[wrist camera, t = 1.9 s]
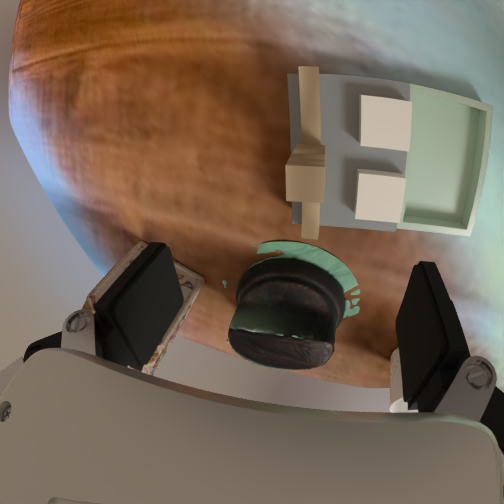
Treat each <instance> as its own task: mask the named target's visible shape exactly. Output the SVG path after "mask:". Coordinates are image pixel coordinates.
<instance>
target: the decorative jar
mask: <svg viewBox="0 0 504 504" xmlns="http://www.w3.org/2000/svg"><path fill="white" fill-rule="evenodd" d="M147 246H148V244H147V243H145V242H144V241H139V242H138V243H137V244H136V245H135V246H134V247H133V248H132V249H130V250H129V252H127V253H126V254H125V255H124V256H123V257H122V258H121V259H120V260H119V261H118V263H116V265H115V266H114V267H113V268H112V269H111V270H110V271H109V272H108V273H107V274H106V275H105V277H104V278H103V279H102V280H101V281H100V282H99V283H98V284H97V285H96V287H95V288H94V289H93V290H92V291H91V292H90V293H89V294H88V296H87V298H86V301H85V304H84V306H83V308H82V309H88V310H90V311H92V313H93V314H94V313H95V312H96V310H95V308H94V305H95V303H96V302H97V301H98V300H99V299H100V298H101V296H102V295H103V294H104V293H105V292H106V291H107V289H108V288H109V287H110V286H111V285H112V284H113V283H114V282H115V280H116V279H117V278H118V277H119V276H120V275H121V274H122V273H123V271H124V270H125V269H126V268H127V267H128V266H129V265H130V264H131V263H132V262H133V261H134V259H135V258H136V257H137V256H138V255H139V254H140V253H141V252H142V251H143V250H144V249H145V248H146V247H147ZM173 262H174V265H175V269H176V272H177V276H178V279H179V283H180V286H181V290H182V293H183V296H184V302H183V305H182V307H181V308H180V310H179V312H178V313H177V315H176V317H175V318H174V320H173V322H172V323H171V325H170V327H169V328H168V330H167V332H166V333H165V335H164V337H163V339H162V340H161V342H160V344H159V345H158V347H157V349H156V350H155V352H154V354H153V356H152V357H151V359H150V361H149V362H148V364H146V365H144V366H143V368H142V370H141V371H139V370H136V369H133V368H131V367H130V366H129V365H128V368H131V369H133V370H136V371H139V372H142V373H145V374H148V375H151V376H153V374H154V372H155V370H156V369H157V367H158V365H159V363H160V362H161V360H162V358H163V356H164V355H165V353H166V352H167V350H168V348H169V347H170V345H171V343H172V342H173V340H174V338H175V336H176V335H177V333H178V331H179V329H180V328H181V326H182V324H183V322H184V320H185V318H186V316H187V314H188V312H189V311H190V309H191V307H192V305H193V303H194V301H195V299H196V297H197V295H198V294H199V292H200V289H201V287H202V286H203V283H204V281H205V279H204V278H203V277H202V276H200V275H199V274H197V273H195V272H193V271H192V270H190V269H188V268H187V267H185V266H183V265H181V264H180V263H178V262H176V261H175V260H173Z"/></svg>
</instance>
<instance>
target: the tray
mask: <svg viewBox="0 0 504 504" xmlns="http://www.w3.org/2000/svg"><path fill="white" fill-rule="evenodd" d="M410 102H412V120H411V138H410V150H409V152H408V151H407V160H406V170H405V177H406V186H405V193H404V200H403V206H402V212H401V218H400V223H397V228H398V229H408V230H418V231H427V232H436V233H444V234H452V235H461V236H468V237H470V236H471V232H472V229H473V225H474V222H475V218H476V214H477V210H478V206H479V202H480V198H481V193H482V189H483V184H484V179H485V173H486V167H487V161H488V154H489V146H490V137H491V126H492V109H493V106H491V105H488V104H485V103H482V102H479V101H476V100H473V99H470V98H467V97H464V96H460V95H457V94H453V93H449V92H445V91H441V90H437V89H433V88H429V87H424V86H419V85H414V84H410Z"/></svg>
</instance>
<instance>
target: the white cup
mask: <svg viewBox="0 0 504 504" xmlns="http://www.w3.org/2000/svg"><path fill="white" fill-rule="evenodd" d="M389 410H390V412H392V413H398V412H418V410H408V405H407V402H404V400H403V388H402V376H401V365H400V356H399V347H398V348H397V349H396V350H394V351H393V353H392V355H391V372H390V406H389Z"/></svg>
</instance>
